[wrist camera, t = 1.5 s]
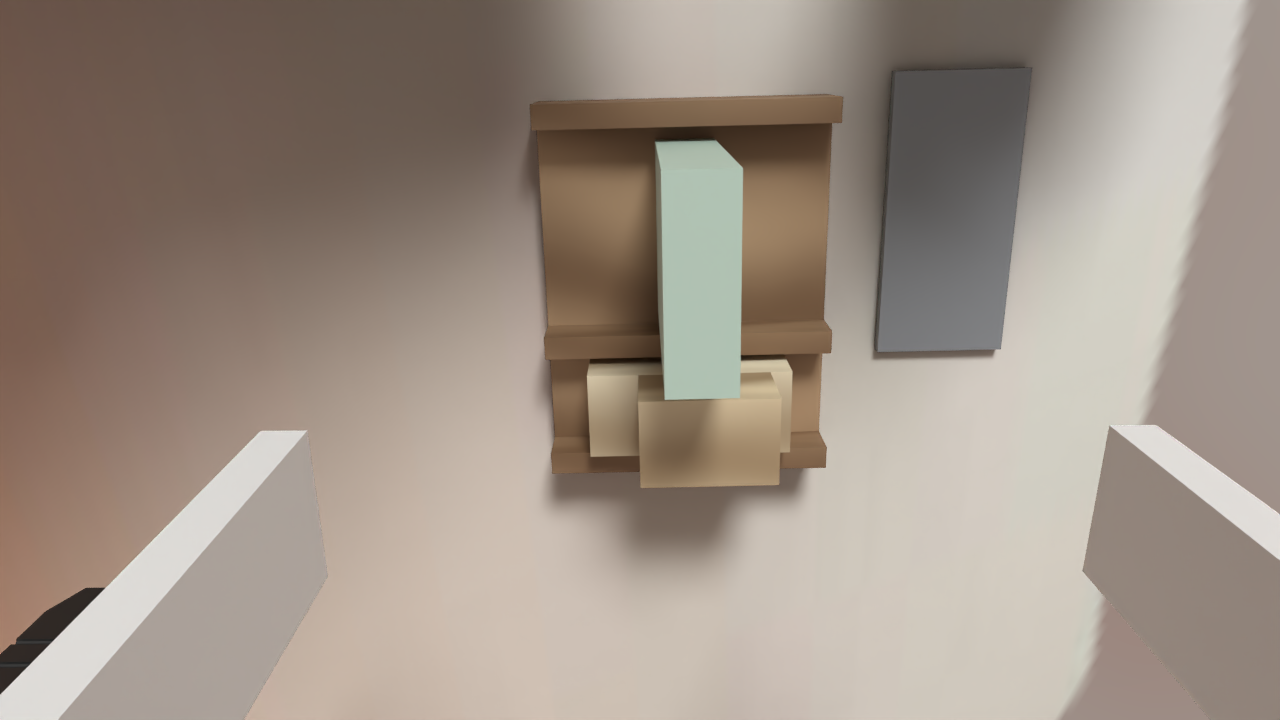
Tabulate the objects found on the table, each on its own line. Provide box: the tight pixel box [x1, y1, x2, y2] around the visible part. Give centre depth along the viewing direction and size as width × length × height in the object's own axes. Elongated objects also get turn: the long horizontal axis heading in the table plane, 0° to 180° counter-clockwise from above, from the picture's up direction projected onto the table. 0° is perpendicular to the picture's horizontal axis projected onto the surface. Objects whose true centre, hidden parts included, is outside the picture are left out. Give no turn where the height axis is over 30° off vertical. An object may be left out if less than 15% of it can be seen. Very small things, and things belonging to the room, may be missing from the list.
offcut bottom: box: [587, 354, 793, 457], centre depth 32 cm, size 3×7×2 cm, turn 91°
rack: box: [530, 94, 843, 474], centre depth 32 cm, size 13×10×2 cm
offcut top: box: [638, 372, 782, 488], centre depth 29 cm, size 3×4×2 cm, turn 91°
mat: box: [875, 68, 1032, 352], centre depth 32 cm, size 10×5×1 cm, turn 1°
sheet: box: [655, 138, 743, 400], centre depth 27 cm, size 6×2×9 cm, turn 1°
